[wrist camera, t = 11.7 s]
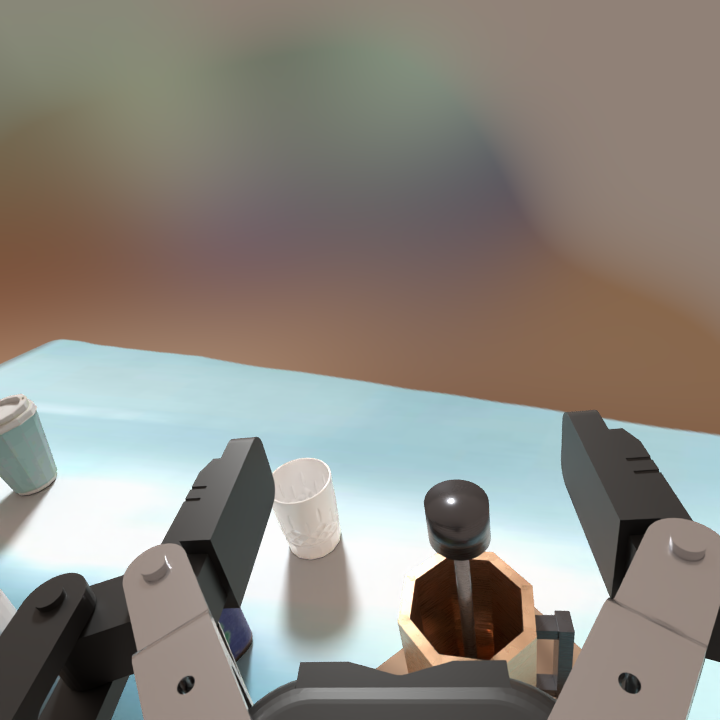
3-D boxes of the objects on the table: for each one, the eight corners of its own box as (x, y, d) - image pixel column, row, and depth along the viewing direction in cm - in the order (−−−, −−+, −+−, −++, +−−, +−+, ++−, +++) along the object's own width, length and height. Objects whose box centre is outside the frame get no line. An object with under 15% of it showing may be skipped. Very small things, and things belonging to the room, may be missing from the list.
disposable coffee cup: (3, 515, 78) (-49, 440, 71) (1, 482, 86) (-46, 411, 79) (75, 481, 83) (32, 407, 76) (66, 453, 91) (27, 384, 84)
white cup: (358, 532, 63) (344, 472, 58) (313, 575, 58) (294, 514, 54) (317, 506, 68) (301, 449, 64) (272, 544, 64) (252, 486, 59)
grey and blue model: (246, 625, 54) (216, 559, 49) (260, 643, 52) (231, 576, 47) (167, 692, 49) (125, 626, 44) (179, 714, 47) (136, 648, 42)
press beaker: (479, 813, 36) (468, 711, 30) (399, 696, 44) (376, 594, 38) (576, 716, 41) (585, 607, 34) (488, 625, 48) (481, 522, 42)
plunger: (473, 763, 38) (451, 561, 27) (421, 692, 43) (385, 498, 32) (531, 708, 40) (531, 505, 30) (476, 647, 46) (459, 454, 35)
